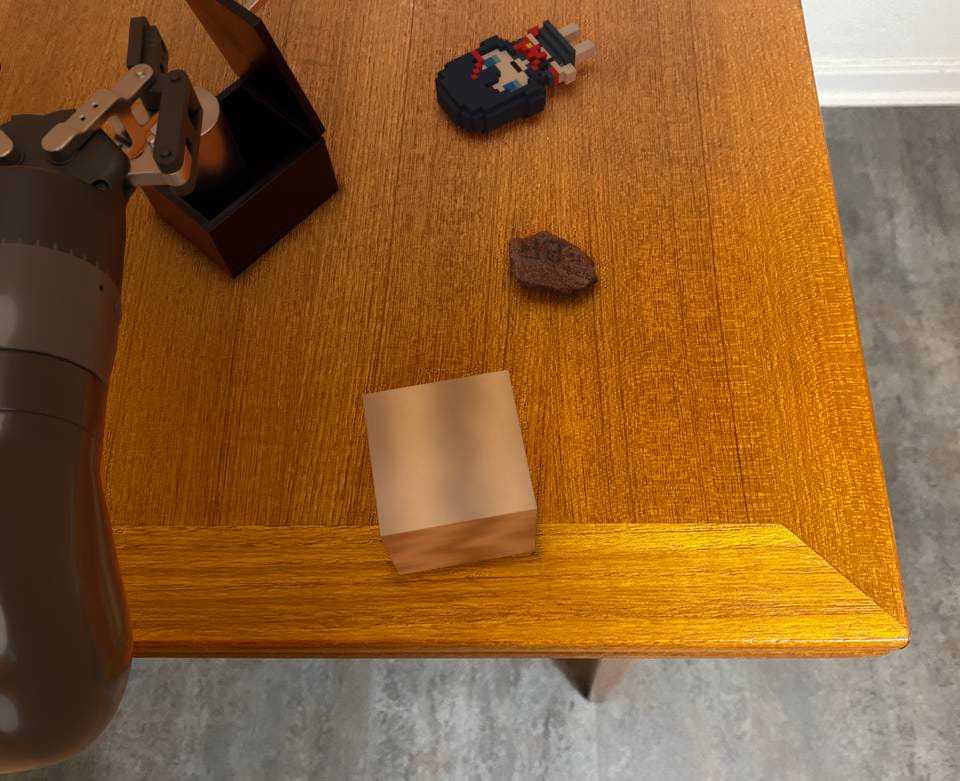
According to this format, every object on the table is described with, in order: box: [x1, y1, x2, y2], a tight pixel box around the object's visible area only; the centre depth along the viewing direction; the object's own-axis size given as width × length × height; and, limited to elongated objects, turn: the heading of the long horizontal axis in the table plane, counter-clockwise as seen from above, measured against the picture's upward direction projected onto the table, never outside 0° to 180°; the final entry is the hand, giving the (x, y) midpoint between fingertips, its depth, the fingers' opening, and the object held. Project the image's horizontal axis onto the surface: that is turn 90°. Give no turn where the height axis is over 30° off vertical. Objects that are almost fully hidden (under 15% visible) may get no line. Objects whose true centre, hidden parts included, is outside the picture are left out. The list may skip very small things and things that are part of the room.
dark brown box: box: [133, 77, 340, 280], centre depth 76 cm, size 13×11×7 cm
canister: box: [149, 85, 254, 221], centre depth 72 cm, size 6×6×12 cm
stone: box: [507, 230, 599, 299], centre depth 73 cm, size 7×7×3 cm
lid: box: [185, 0, 327, 137], centre depth 68 cm, size 13×11×5 cm
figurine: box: [434, 19, 596, 136], centre depth 82 cm, size 9×4×15 cm
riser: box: [362, 369, 538, 576], centre depth 62 cm, size 10×10×10 cm
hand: (64, 38), depth 47 cm, fingers open, 8 cm apart
